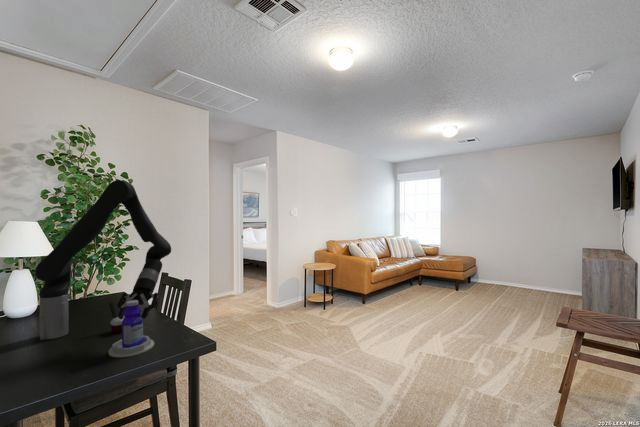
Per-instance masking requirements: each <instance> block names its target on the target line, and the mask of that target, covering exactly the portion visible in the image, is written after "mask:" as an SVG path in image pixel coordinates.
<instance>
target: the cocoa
mask: <svg viewBox="0 0 640 427" xmlns="http://www.w3.org/2000/svg"><path fill="white" fill-rule="evenodd" d="M108 304H109V305H108V306H109V308H110V312H111V315H112V319H111V321H110V329H111V331H112V332H113V333H115V334H117V333H122V321H123V319H124V317H123V319H119V317H118V315H117V313H116V309H115V305H114V302H109V303H108Z"/></svg>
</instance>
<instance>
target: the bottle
mask: <svg viewBox="0 0 640 427" xmlns="http://www.w3.org/2000/svg"><path fill="white" fill-rule="evenodd" d="M125 303H126V310H125V312H124V319H123V321H122V332H121V339H122V346H123V348H130V347H134V346H138V345H140V344H142V342H143V336H144V322H143V320H144V319H142V317H141V316H142V313H141V312H142V310H141V309H140V307H139V306H140V305H138V300H131V301H128V302H125Z"/></svg>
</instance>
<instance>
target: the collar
mask: <svg viewBox="0 0 640 427" xmlns="http://www.w3.org/2000/svg"><path fill="white" fill-rule="evenodd" d="M154 346H155V341H154V340H153V339H151V338H150V336H148V335H143V342H142V344H140V345H138V346H134V347H130V348H123V346H122V338H121V339H120V340H117V341H116V342H114V343H113V344H112V346H111V347H110V349H108V351H107V352H108V353H107V354H108V356H110V357H112V358H127V357H134V356H138V355H141V354H143V353H146V352H148V351H150V350H151V349H153V347H154Z"/></svg>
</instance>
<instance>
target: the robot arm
mask: <svg viewBox="0 0 640 427" xmlns="http://www.w3.org/2000/svg"><path fill="white" fill-rule="evenodd" d="M120 204H122V205H123V207H124V208H125V209H126V210H127V212H128V214H129V216H130V218H131V221H132V222H131V223H132V224H133V226H134V229H135V231H136V232H137V234H138V235H139V237H140V239H141V240H142V241H143V242H144V243H151V244H152V246H150V247H149V248H148V250H147V251H146V255H145V261H144V262H145V263H144V264H143V267H142V269H141V271H140V273H139V275H138V277H137V278H136V281H135V284H134V285H133V288H132V292H131V293H126V292H123V293H122V295H121V296H120V298H119V300H118V302H117V304H116V307H117V308H118V309H119V312H118V314H117V317H119V319H123V317H124V312H125V310H126V302H128V301H131V300H138V305H139V306H143V305H144V306H145V307H144V308H143V310H142V313H141V317H142V319H143V320H146V318H147V317H148V315H149V313H150V311H151V310H152V309H153V310H155V309H156V308H157V306H158V302H159V298H160V295H159V293H158V292H154V291H155V288H156V286H157V283H158V280H159V276H160V273H161V271H162V268H163V263H162V261H161V260H162V259H163V258H165V257H168V256H169V255H170V254H171V253H172V247H171V244H170V242H169V241H168V240H167V239H166V238H165V237H164V236H162V234H160V233H159V232H158V230H157V229H156V227H155V225H154V224H153V222H152V221H151V218H149V216H148V214H147V213H146V211H145V210H144V207H143V206H142V203H141V201H140V199H139V197H138V194H137V191H136V189H135V187H134V186H133V185H132V183H130V182H128V181H125V180H123V179H122V180H120V179H116V180H113V181H111V182H109V184H108V185H106V187H105V189H104V190H103V192H102V194H101V195H100V196H99V198H98V199H97V201H96V202H95V203H94V204H92V206H91V207H90V208H89V209H88V210H87V211H86V212H85V214H84V215H82V216H81V217H80V219H79V220H77V221H76V223H75V224H74V225H73V226H72V228H71V229H69V231H68V232H67V233H66V235H65V236H64V237H63V239H62V240H61V241H60V242H59V243H58V245H56V247H55V248H54V249H53V250H52V251H50V253H49V254H47V255H46V256H45V257H43V259H42V260H40V262H39V263H38V264H37V265H36V266H35V271H34V273H35V276H36V278H37V279H38V280H40V281H42V282H44V284H43V286H42V288H41V289H40V290H39V341H45V340H53V339H58V338H61V337H64V336H66V335H68V334H69V290H70V289H69V288H70V287H71V276H72V275H71V274H72V266H71V264H70V261H71V260H72V259H73V258H74V257H75V256H76V255H77V254H78V253H80V252H81V251H82V250H84V249H85V248H86V247H87V246H88V245H90V244H91V243H92V242H93V241H94V240H95V239H96V238H97V236H99V235H100V234H101V232H102V231H103V229H104V228H105V227H106V225H107V222H108V220H109V219H110V218H109V217H110V215H111V214H112V213H113V212H114V210H115V209H116V208H117V207H118V206H119V205H120ZM150 299H152V300H151V304H150V303H149V301H150Z"/></svg>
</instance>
